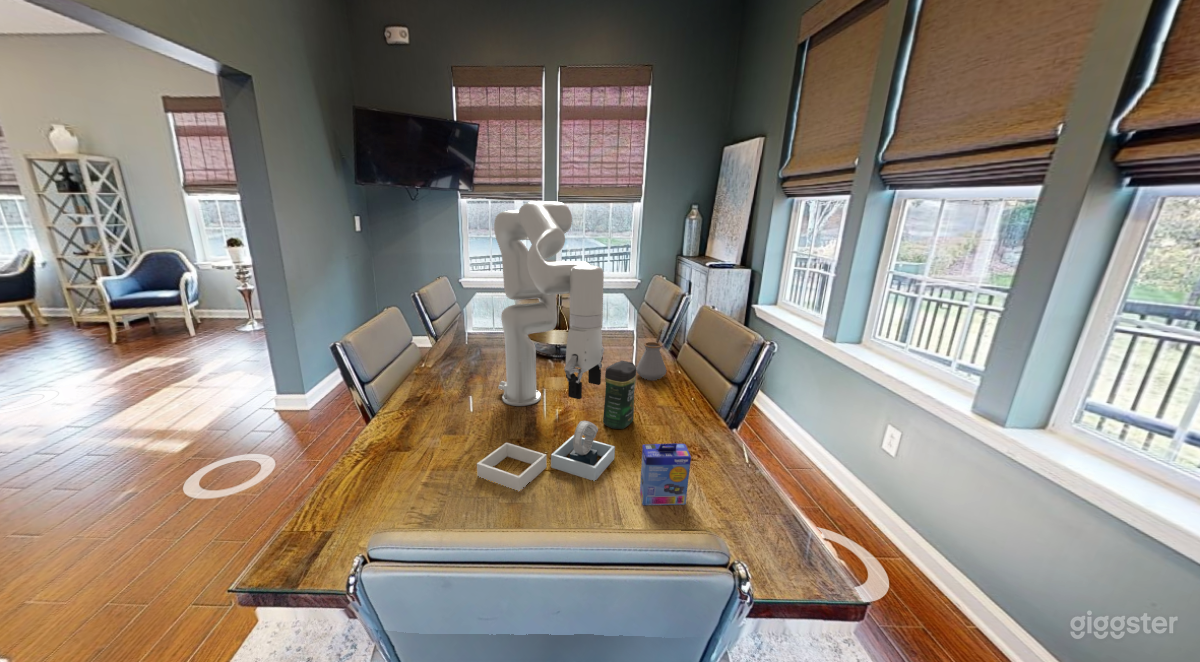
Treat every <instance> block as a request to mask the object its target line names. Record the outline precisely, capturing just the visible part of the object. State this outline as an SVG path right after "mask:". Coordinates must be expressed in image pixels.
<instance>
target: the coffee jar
mask: <svg viewBox="0 0 1200 662" xmlns="http://www.w3.org/2000/svg"><path fill="white" fill-rule="evenodd" d="M636 368H637V366H636V365H635V363H634V362H631V361H626V360H620V361H617V362H615V363H612V364H611V365H608V366H607V367H606V369H605V373H604V374H605V375H604V380H605V391H604V392H605V393H604V406H603V415H602V416H603V418H602V422H603V424H604V425H605V426H606V427H608V428H611V429H614V430H615V429H618V430H624V429H625V428H627V427H628V426H630V425H631V424H632V423H633V421H634V416H635V386H636V380H637V371H636Z"/></svg>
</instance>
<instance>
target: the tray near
mask: <svg viewBox="0 0 1200 662" xmlns="http://www.w3.org/2000/svg"><path fill="white" fill-rule="evenodd" d="M507 457H508V458H511V459H514V460H518V461H521V462H524V463H527V464H530V465H529V466H528V467H527V468H526V469H525V470H524V471H522V472H521V473H520V474H519V475H517V474H514V473H511V472H508V471H506V470H502V469H500V468H496V467H495V466H496V465H498V464H499V463H501V462H502V461H504V460H505V458H507ZM493 466H494V467H493ZM547 467H548V466H547V454H546V453H543V452H539V451H535V450H533V449H530V448H526V447H523V446H520V445H517V444H513V443H510V442H505V443H503V444H502V445H501V446H499V447H498V448H497V449H495V450H493V451H492V452H491V453H490V454H487V456H486V457H483V459H481V460H480V461H478V462H476V471H477V472H476V473H477V474H476V475H477V477H478V476H479V477H478V478H480V477H481V478H480V479H482V478H484V479H483V480H485V479H487V480H486V481H488V480H490V481H489V482H491V481H493V482H492V483H494V482H496V483H498V484H497V485H499V484H501V485H500V486H502V485H504V486H503V487H505V486H506V487H505V488H508V487H509V488H508V489H510V488H512V489H511V490H513V489H515V490H514V491H516V490H518V491H517V492H519V491H520V490H521V489H522V490H523V489H524V488H526V487H527V486H528V485H529V484H530V483H531V482H532V481H533V480H534V479H536V478H537V477H538V476H539V475H540V474H541V473H543V471H544V470H545V469H547ZM529 482H530V483H529ZM496 483H495V484H496ZM528 483H529V484H528ZM527 484H528V485H527ZM526 485H527V486H526ZM523 487H524V488H523ZM522 490H521V491H522ZM521 491H520V492H521Z"/></svg>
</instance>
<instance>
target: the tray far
mask: <svg viewBox="0 0 1200 662" xmlns="http://www.w3.org/2000/svg"><path fill="white" fill-rule="evenodd" d="M574 435H575V434H573V435H572V436H571V437H569V438H568V439H567V440H566V441H565V442H563V444H562V445H560V446H559V447H558V448H557V449H556V450H555V451H553V452H552V453H551V454H550V468H552V469H555V470H559V471H562V472H564V473H568V474H571V475H573V476H577V477H580V478H584V479H587V480H590V481H592V480H593V482H596V481H597V480H598V478H599V477H601V475H602V473H603V472H605V470H606V469H607V468H608V467H609V466H610V465H611V463H612V462H613V461H614V460H615V455H616V454H615V451H616V450H615V449H616V446H614V445H611V444H608V443H604V442H601V441H596V440H593V444H592V447H591V449H593V450H597V456H599V457H601V458H600V459H599V460H597V462H596V463H595V465H594V466H592V465H589V464H585V463H582V462H579V461H576V460H572V459H570V457H567V456H568V455H570V453H571V452H572V451H573V450H574V448H573V439H574ZM584 440H585V437H583V436H582V441H581V445H583V443H584ZM595 480H596V481H595Z"/></svg>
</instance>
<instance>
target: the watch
mask: <svg viewBox="0 0 1200 662" xmlns="http://www.w3.org/2000/svg"><path fill="white" fill-rule="evenodd" d="M598 431H599V428H598V426H597V425H596V424H594V423H593V422H591V421H588V420H581V421H579V423H578V424H577V426H576V428H575V430H574V434H573V435H574V439H573V448H574V449H573V450H572V451H571V452H570V453H569V459H572V460H576V461H579V462H582V463H585V464H589V465H592V466H595V465H596V464H597V462H598V455H597V450H593V449H591V447H592V444H593V441H595V440H594V439H596V437H597V433H598ZM583 436H584V438H585V440H584V443H583V445H581V441H582V437H583Z"/></svg>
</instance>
